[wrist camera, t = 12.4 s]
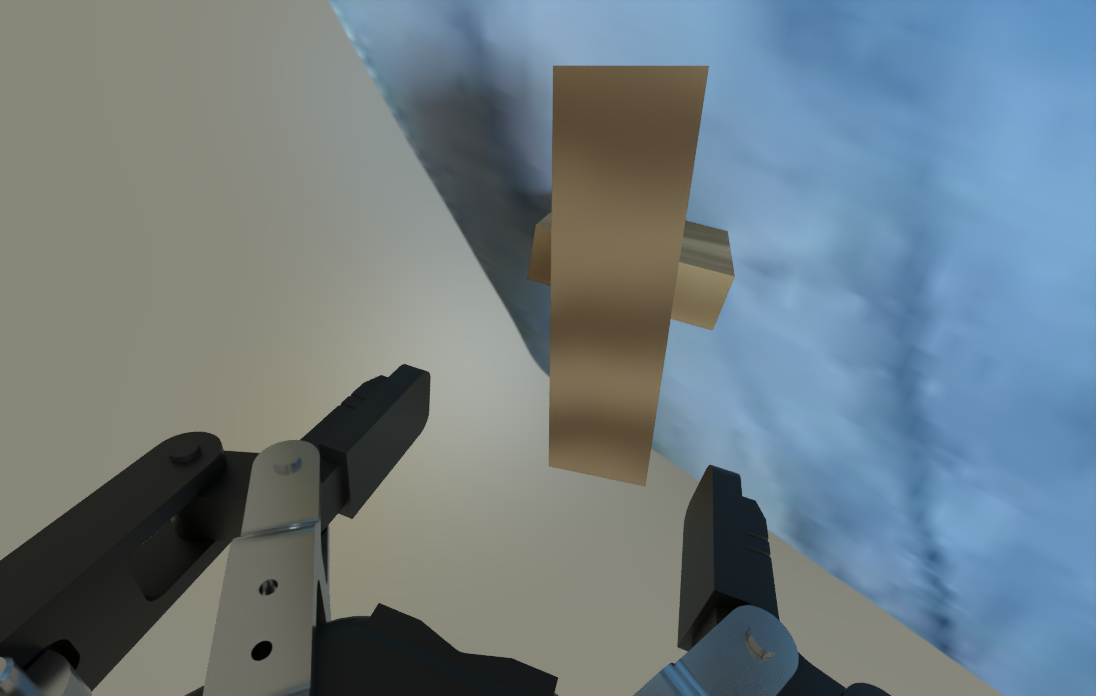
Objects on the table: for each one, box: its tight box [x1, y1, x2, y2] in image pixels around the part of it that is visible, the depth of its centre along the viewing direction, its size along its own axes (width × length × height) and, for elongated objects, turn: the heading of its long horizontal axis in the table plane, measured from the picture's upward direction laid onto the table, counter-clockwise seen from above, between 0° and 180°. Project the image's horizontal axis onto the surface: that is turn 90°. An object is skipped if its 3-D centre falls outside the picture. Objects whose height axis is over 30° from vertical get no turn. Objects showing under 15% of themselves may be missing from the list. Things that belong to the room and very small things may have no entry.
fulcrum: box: [527, 211, 735, 330], centre depth 27 cm, size 3×10×8 cm, turn 80°
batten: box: [549, 66, 709, 486], centre depth 22 cm, size 18×5×5 cm, turn 179°
